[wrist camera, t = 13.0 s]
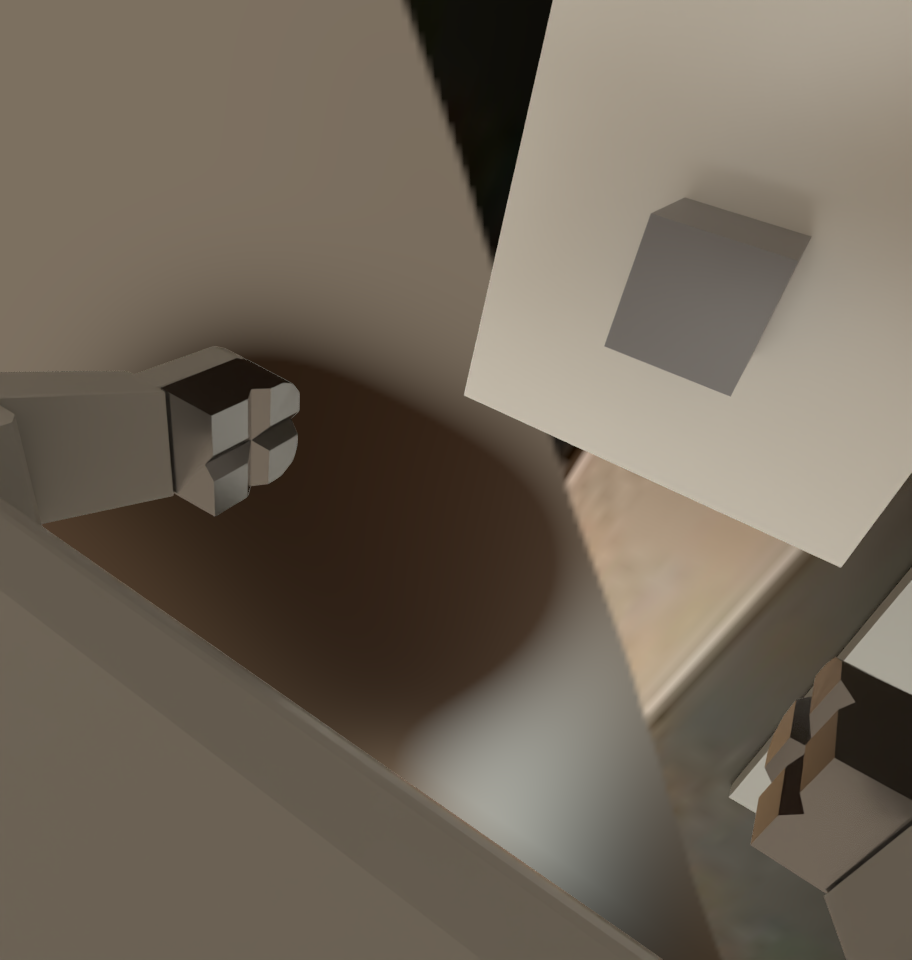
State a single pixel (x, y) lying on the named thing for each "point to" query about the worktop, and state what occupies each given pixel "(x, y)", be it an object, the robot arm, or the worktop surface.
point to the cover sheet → (746, 151)
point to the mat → (874, 649)
